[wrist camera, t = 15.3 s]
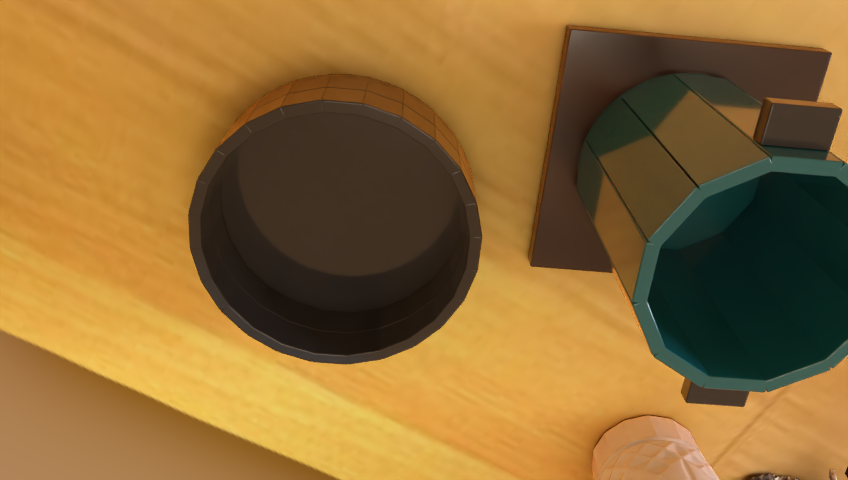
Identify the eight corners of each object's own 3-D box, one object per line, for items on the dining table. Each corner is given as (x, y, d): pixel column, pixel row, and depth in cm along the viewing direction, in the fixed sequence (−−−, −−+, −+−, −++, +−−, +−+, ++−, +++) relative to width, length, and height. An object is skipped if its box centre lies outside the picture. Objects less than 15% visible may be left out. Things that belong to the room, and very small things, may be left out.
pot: (601, 30, 38) (679, 102, 27) (803, 49, 38) (963, 127, 27) (557, 271, 44) (605, 414, 32) (733, 285, 44) (841, 430, 33)
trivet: (566, 24, 39) (570, 28, 38) (823, 48, 39) (832, 52, 39) (528, 258, 44) (530, 266, 44) (753, 276, 45) (759, 284, 44)
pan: (209, 61, 40) (182, 87, 35) (490, 86, 40) (499, 115, 36) (216, 305, 46) (193, 354, 41) (459, 323, 46) (463, 373, 42)
